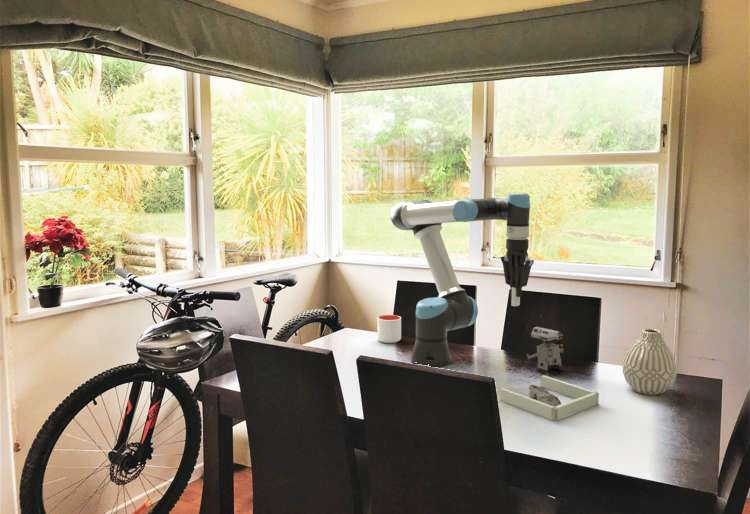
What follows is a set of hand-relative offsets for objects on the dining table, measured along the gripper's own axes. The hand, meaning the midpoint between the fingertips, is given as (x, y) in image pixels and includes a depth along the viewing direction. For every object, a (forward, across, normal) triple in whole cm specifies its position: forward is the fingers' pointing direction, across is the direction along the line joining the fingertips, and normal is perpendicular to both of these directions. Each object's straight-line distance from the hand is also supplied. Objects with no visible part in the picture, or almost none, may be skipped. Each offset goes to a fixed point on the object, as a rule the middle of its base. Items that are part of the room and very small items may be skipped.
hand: (515, 305), depth 210 cm
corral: (+24, +25, -13) cm, 37 cm away
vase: (+25, +38, +21) cm, 50 cm away
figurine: (+25, +4, +12) cm, 28 cm away
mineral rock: (+25, +26, -16) cm, 39 cm away
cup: (+25, -60, -9) cm, 66 cm away
